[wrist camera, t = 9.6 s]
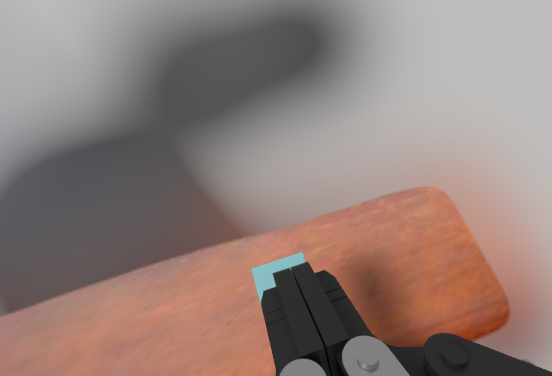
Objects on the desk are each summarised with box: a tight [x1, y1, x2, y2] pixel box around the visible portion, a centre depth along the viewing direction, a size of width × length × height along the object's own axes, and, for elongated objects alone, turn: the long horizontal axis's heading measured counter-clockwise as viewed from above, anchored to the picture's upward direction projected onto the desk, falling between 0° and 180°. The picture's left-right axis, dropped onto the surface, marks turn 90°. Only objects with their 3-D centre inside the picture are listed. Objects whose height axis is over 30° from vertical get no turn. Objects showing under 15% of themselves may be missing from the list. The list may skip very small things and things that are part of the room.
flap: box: [251, 252, 305, 303], centre depth 19 cm, size 4×2×9 cm
